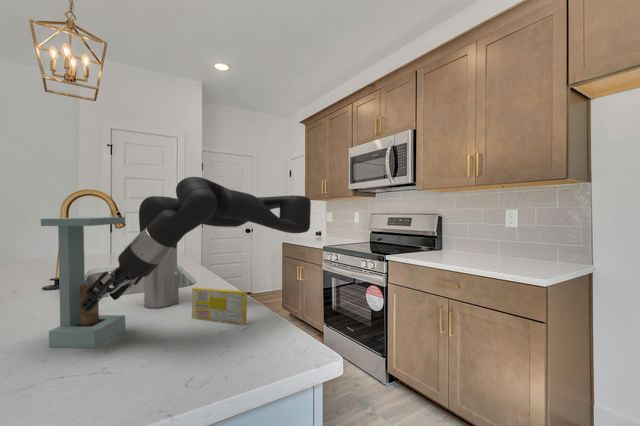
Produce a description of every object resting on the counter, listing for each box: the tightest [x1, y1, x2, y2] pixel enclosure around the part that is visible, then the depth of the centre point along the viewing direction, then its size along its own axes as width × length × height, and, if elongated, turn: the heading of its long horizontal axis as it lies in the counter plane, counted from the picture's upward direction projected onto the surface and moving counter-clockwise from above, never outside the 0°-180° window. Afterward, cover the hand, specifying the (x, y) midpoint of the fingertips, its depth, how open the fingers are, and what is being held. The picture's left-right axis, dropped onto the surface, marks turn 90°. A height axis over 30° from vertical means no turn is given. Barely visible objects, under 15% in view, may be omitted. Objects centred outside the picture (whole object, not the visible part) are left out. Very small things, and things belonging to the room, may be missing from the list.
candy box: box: [191, 286, 248, 325], centre depth 83 cm, size 16×2×8 cm, turn 71°
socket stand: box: [40, 216, 126, 349], centre depth 72 cm, size 11×11×28 cm
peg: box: [80, 283, 100, 327], centre depth 72 cm, size 3×3×12 cm
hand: (99, 302), depth 71 cm, fingers open, 8 cm apart
